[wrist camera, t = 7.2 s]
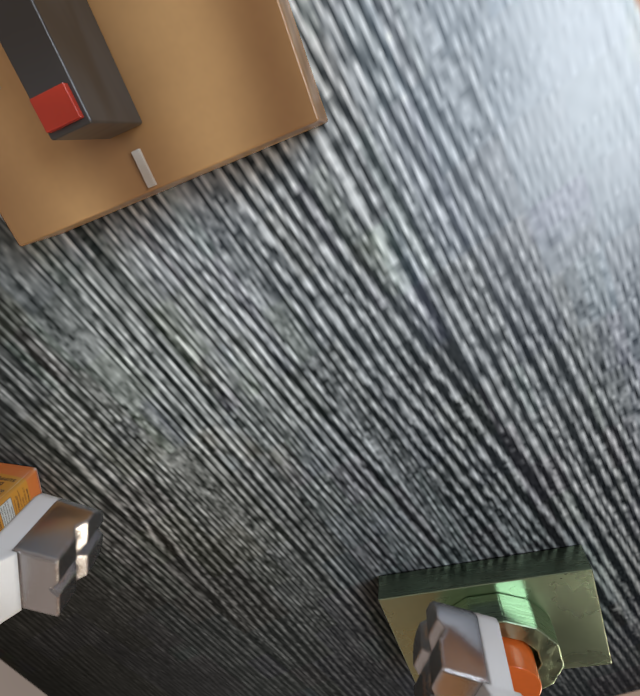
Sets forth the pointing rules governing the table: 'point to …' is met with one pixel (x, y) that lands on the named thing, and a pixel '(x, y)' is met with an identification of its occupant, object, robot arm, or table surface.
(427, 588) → the button box
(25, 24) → the dark grey block
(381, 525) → the table surface
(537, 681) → the button
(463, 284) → the table surface
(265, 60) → the control panel
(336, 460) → the table surface
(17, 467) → the supplement box
